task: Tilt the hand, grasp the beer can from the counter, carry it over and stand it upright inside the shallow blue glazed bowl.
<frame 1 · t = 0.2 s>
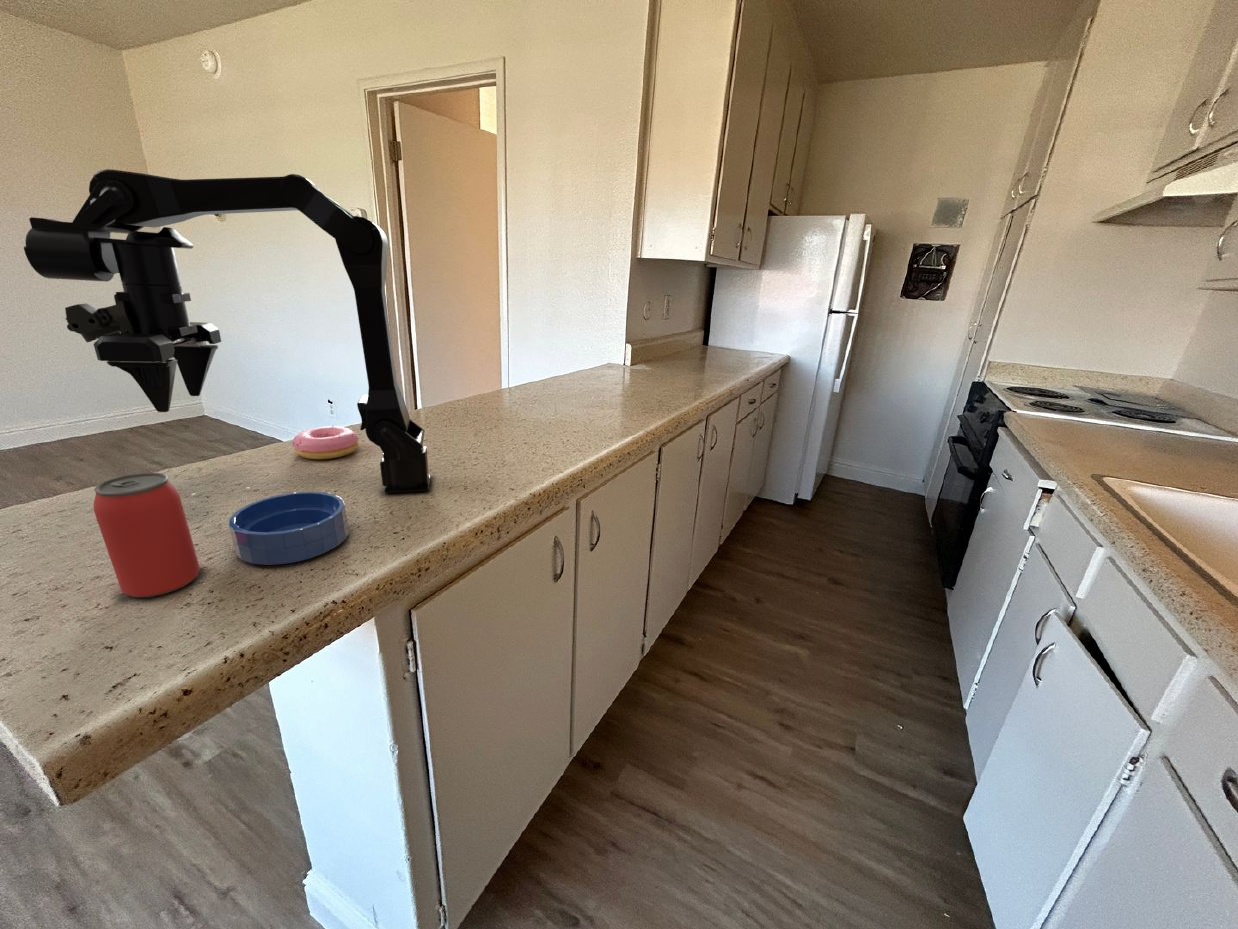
hand: (180, 403, 70), 15 cm above the countertop, tool pointing down, fingers open, 9 cm apart
beer can: (163, 584, 56), on the countertop
bowl: (295, 542, 65), on the countertop
doughnut: (328, 453, 96), on the countertop
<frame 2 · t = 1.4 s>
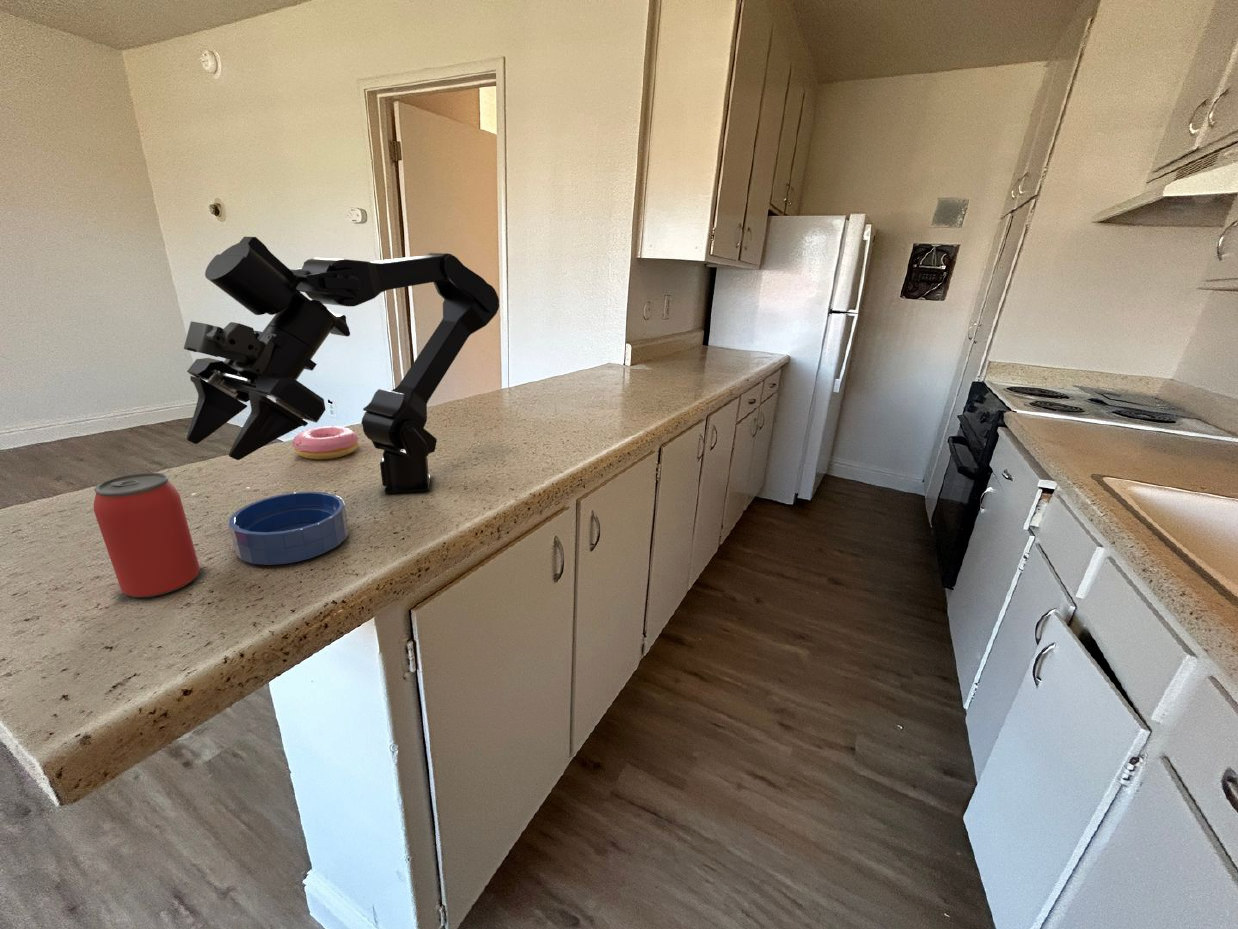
hand: (211, 449, 58), 13 cm above the countertop, tool tilted 45°, fingers open, 9 cm apart
nothing on the countertop moved.
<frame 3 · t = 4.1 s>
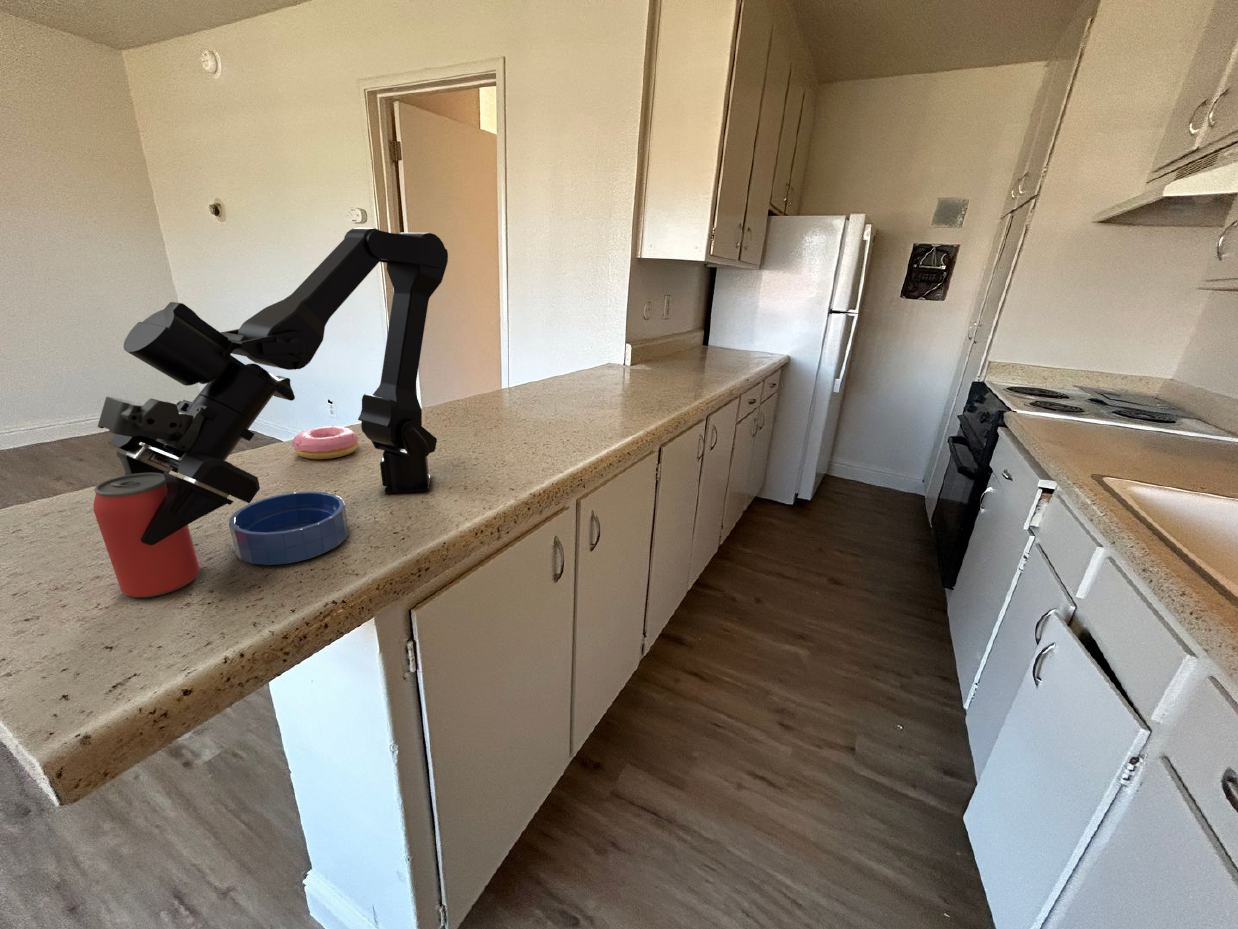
hand: (129, 534, 52), 7 cm above the countertop, tool tilted 45°, fingers closed on beer can, 6 cm apart
beer can: (163, 584, 56), on the countertop, touching gripper
everything else where it was.
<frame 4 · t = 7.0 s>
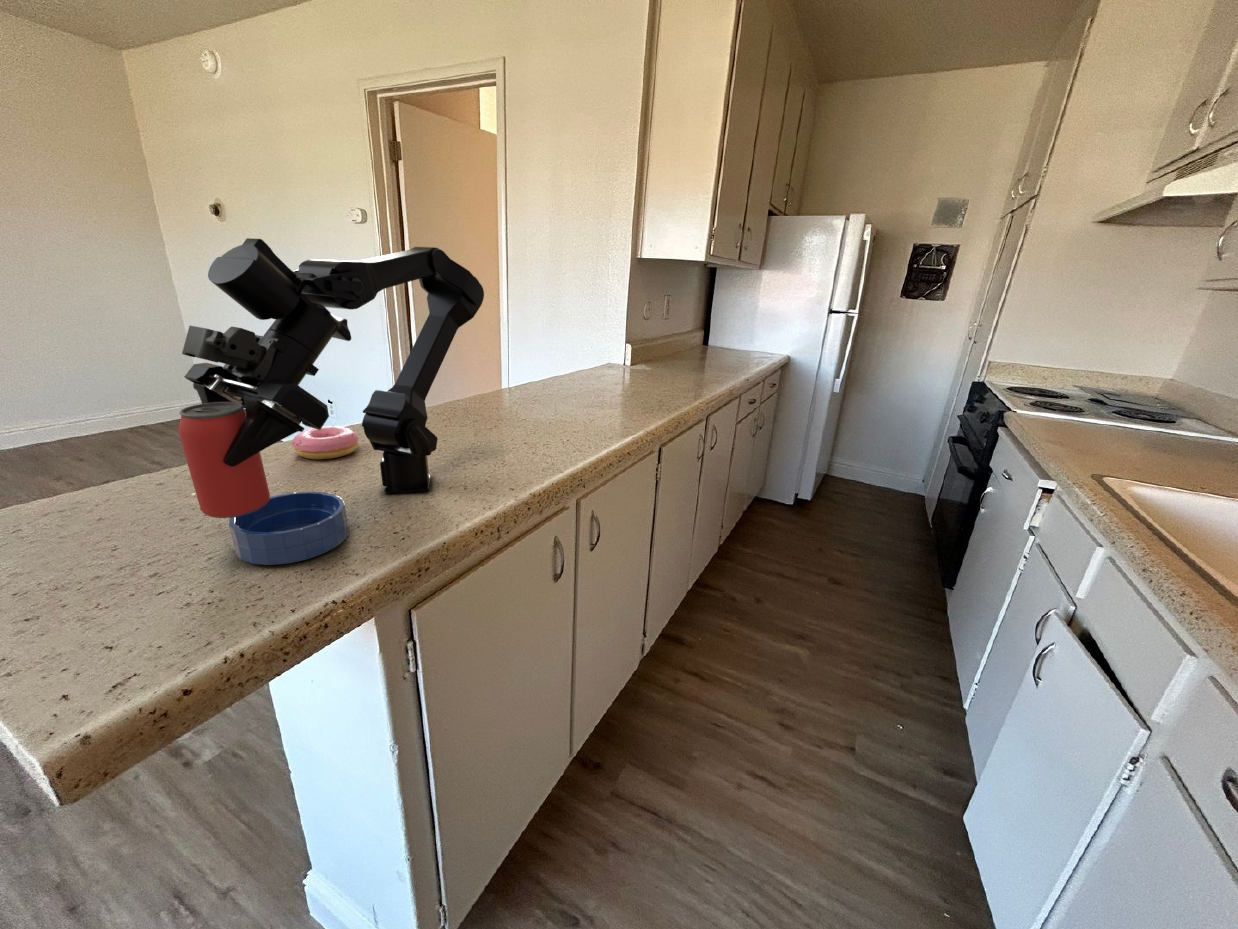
hand: (210, 458, 56), 13 cm above the countertop, tool tilted 45°, fingers closed on beer can, 6 cm apart
beer can: (238, 509, 59), point 6 cm above the countertop, touching gripper
everything else where it was.
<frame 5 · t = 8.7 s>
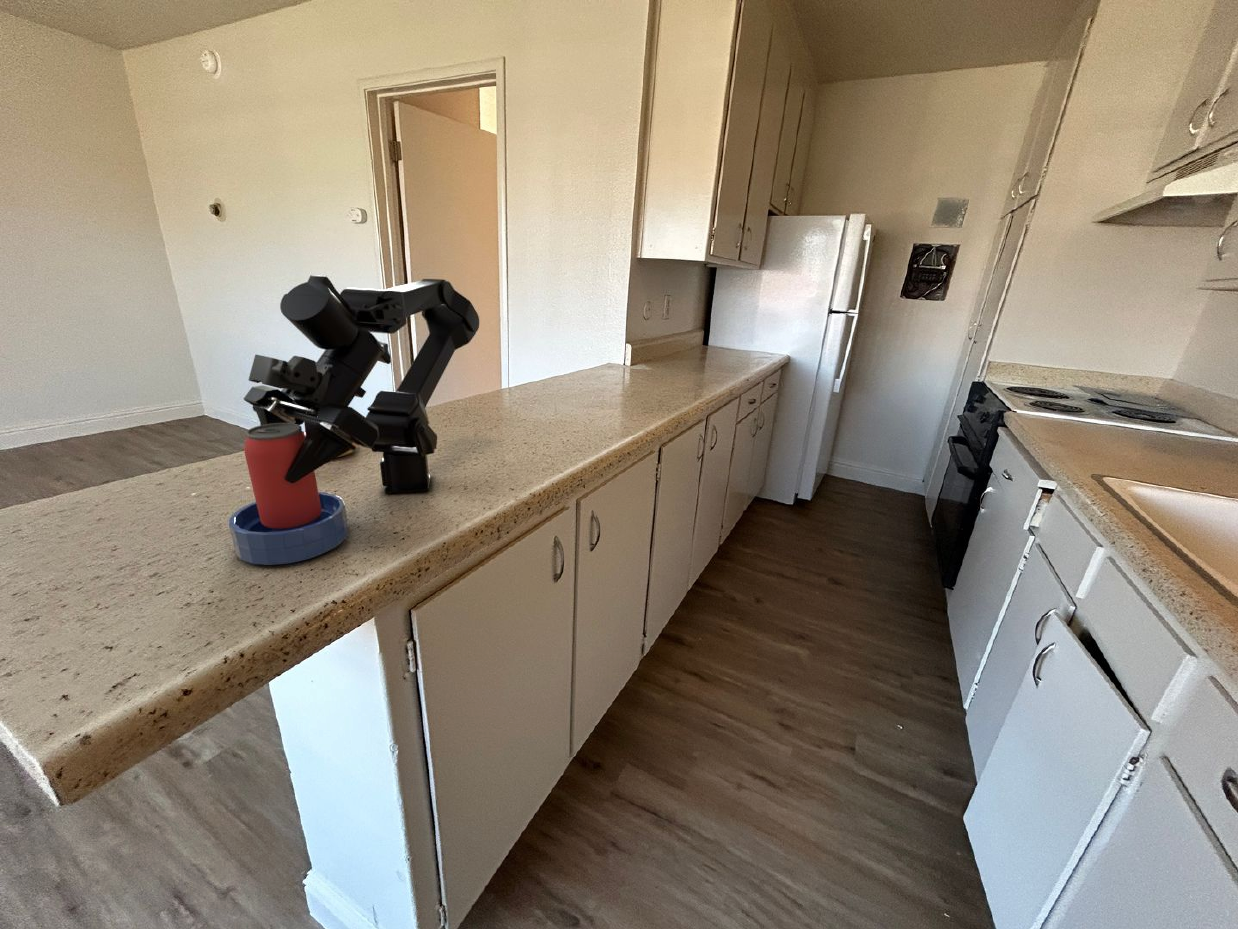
hand: (271, 475, 61), 10 cm above the countertop, tool tilted 45°, fingers closed on beer can, 6 cm apart
beer can: (293, 521, 64), point 3 cm above the countertop, touching gripper
everything else where it was.
when the fingers open (7 cm above the countertop, at t = 10.1 s): beer can stays where it is, resting on bowl.
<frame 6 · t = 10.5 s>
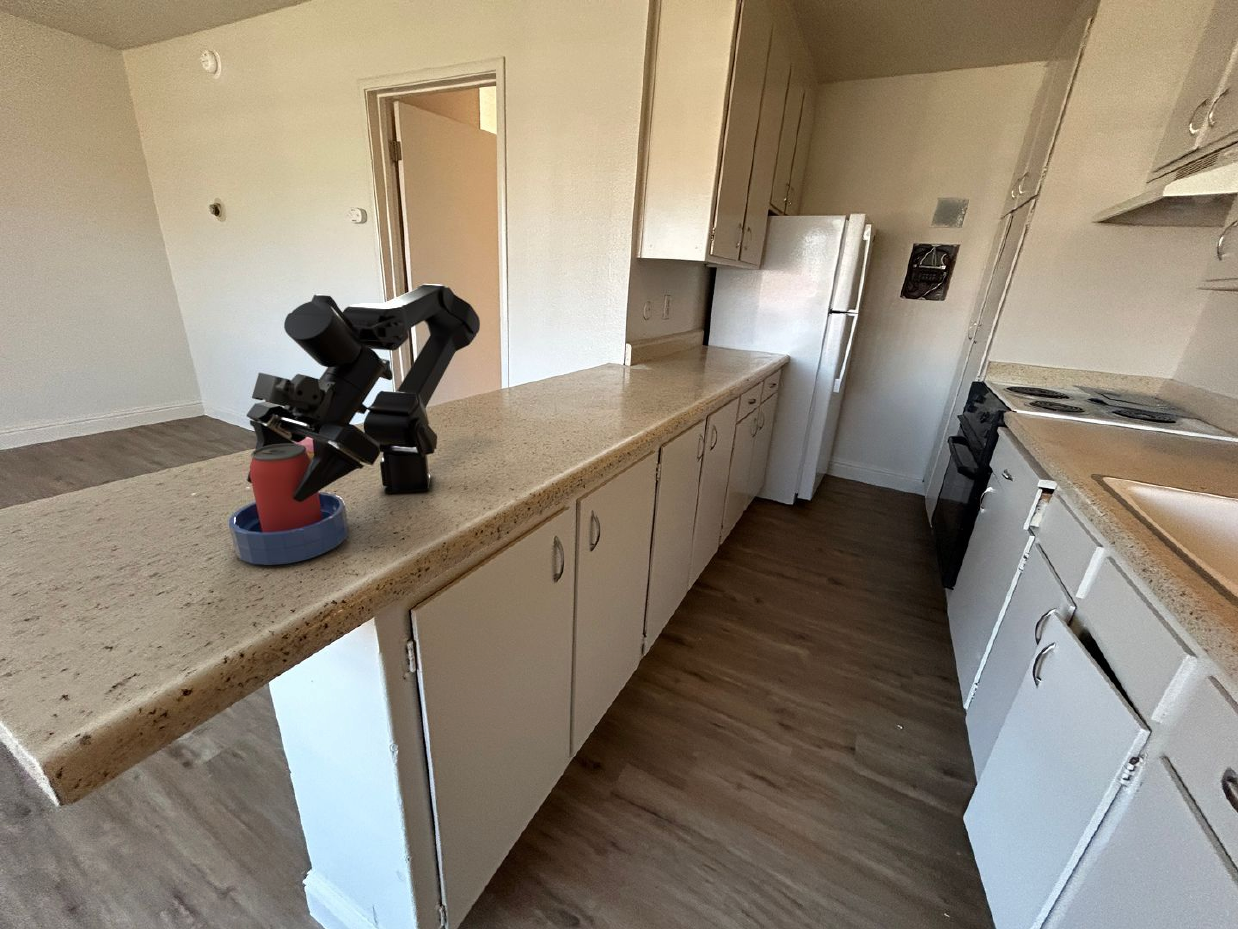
hand: (272, 491, 61), 8 cm above the countertop, tool tilted 45°, fingers open, 9 cm apart
beer can: (296, 540, 65), resting on bowl
everything else where it was.
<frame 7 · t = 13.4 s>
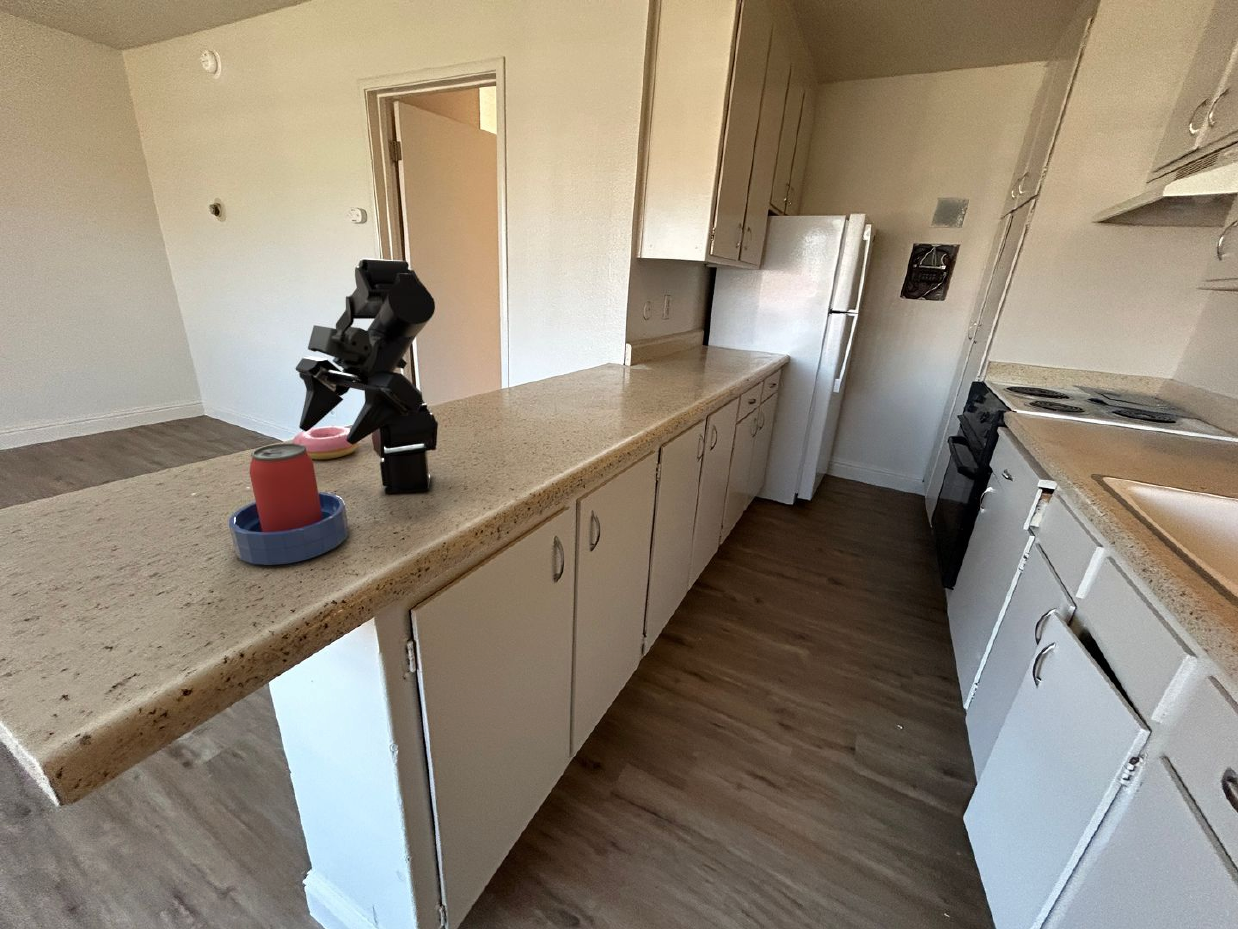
hand: (325, 436, 67), 12 cm above the countertop, tool tilted 45°, fingers open, 9 cm apart
nothing on the countertop moved.
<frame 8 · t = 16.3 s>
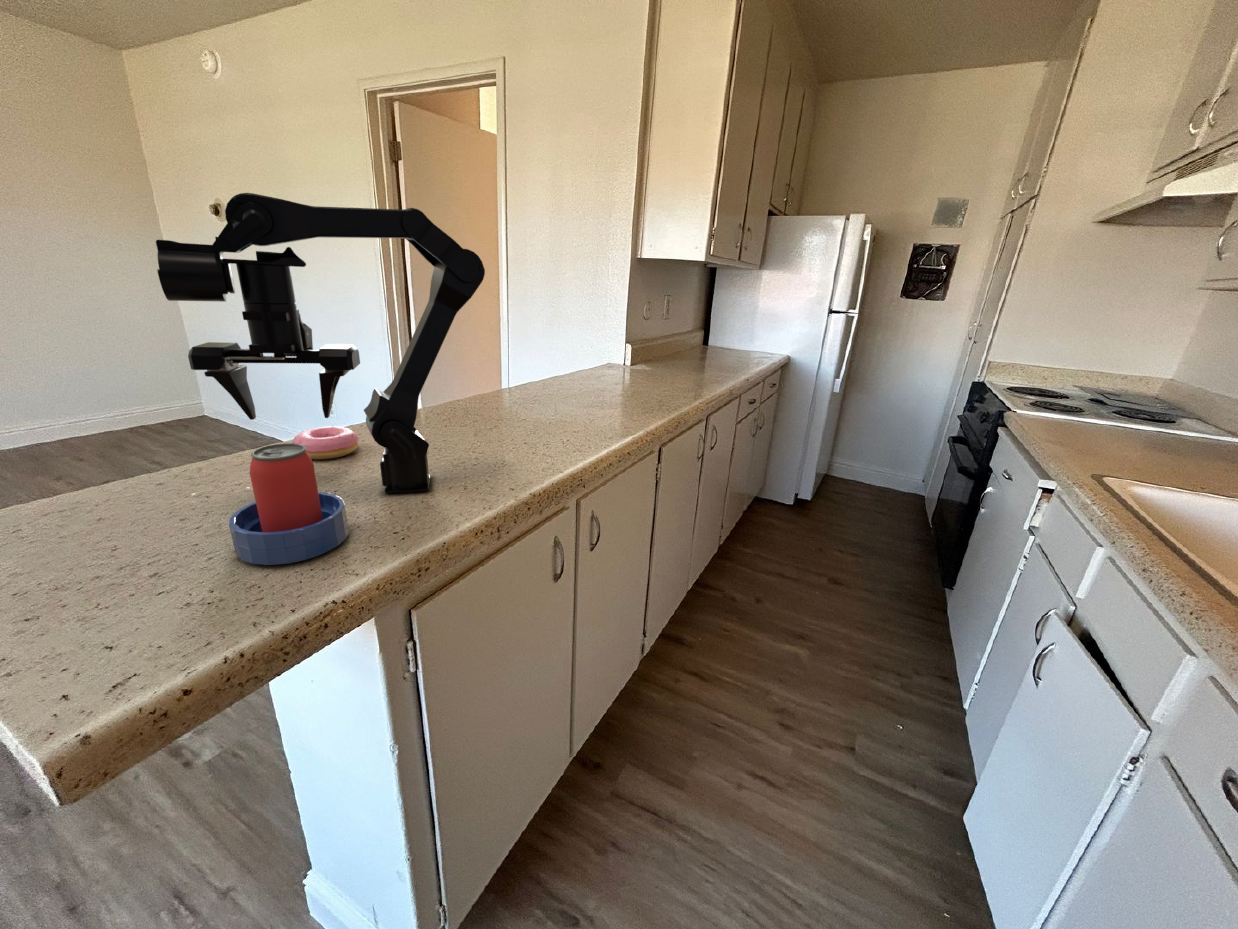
hand: (290, 418, 72), 13 cm above the countertop, tool pointing down, fingers open, 9 cm apart
nothing on the countertop moved.
at the end: beer can 0.1 cm off-centre in the bowl, point 0.3 cm above the bowl's base; beer can tilted 0°; the gripper is holding nothing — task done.
